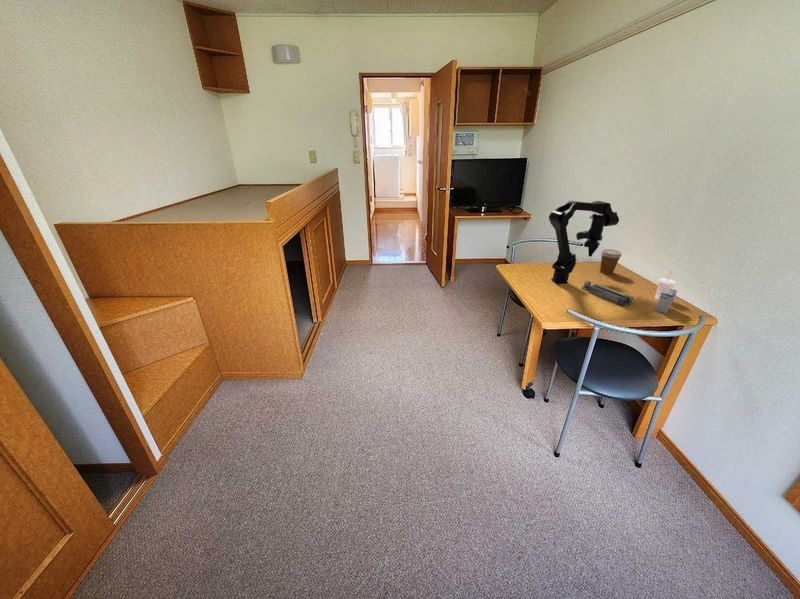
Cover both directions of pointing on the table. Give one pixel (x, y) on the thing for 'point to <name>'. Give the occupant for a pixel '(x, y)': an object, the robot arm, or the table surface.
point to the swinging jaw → (615, 292)
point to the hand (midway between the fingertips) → (589, 256)
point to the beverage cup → (664, 285)
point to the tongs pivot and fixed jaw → (605, 294)
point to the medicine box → (665, 300)
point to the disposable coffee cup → (609, 261)
